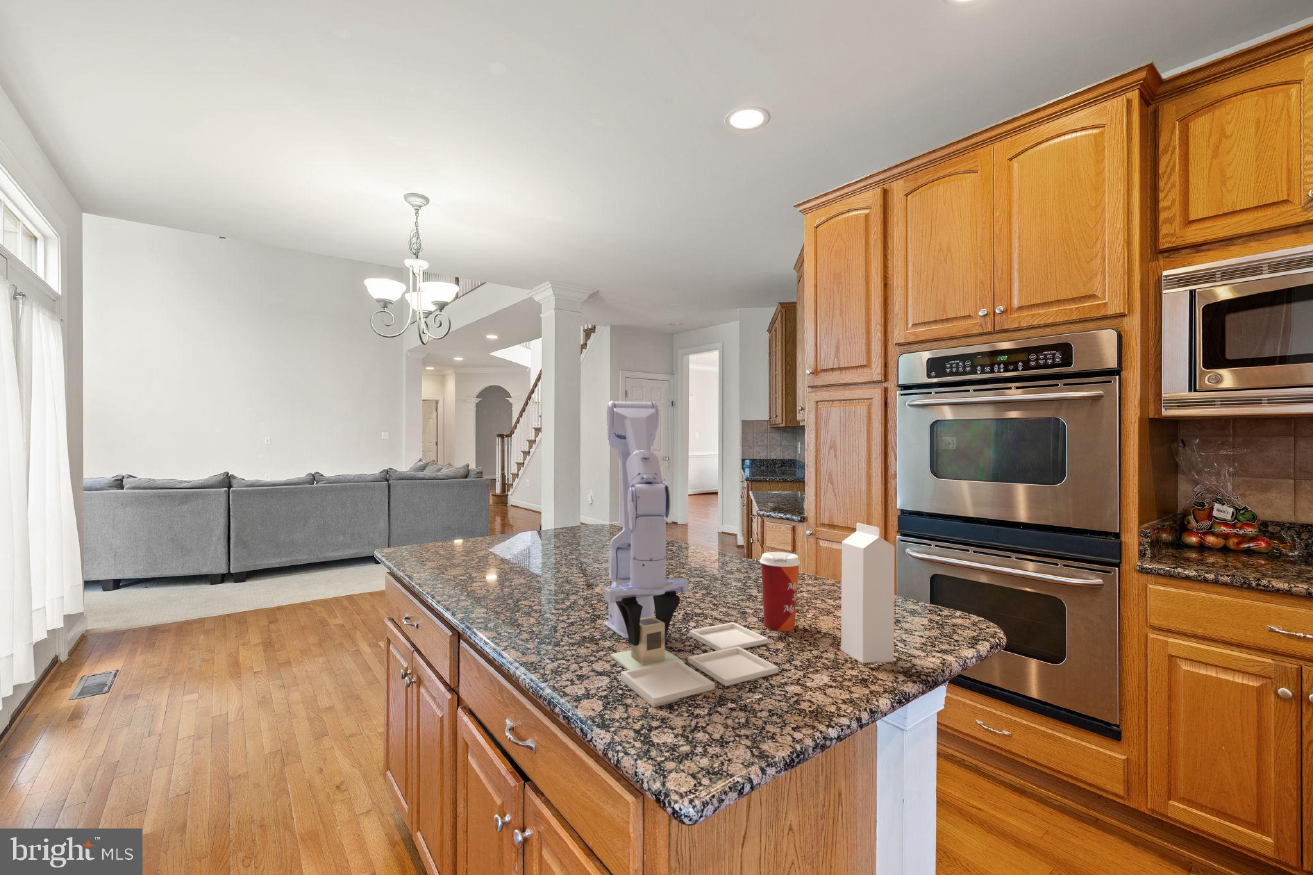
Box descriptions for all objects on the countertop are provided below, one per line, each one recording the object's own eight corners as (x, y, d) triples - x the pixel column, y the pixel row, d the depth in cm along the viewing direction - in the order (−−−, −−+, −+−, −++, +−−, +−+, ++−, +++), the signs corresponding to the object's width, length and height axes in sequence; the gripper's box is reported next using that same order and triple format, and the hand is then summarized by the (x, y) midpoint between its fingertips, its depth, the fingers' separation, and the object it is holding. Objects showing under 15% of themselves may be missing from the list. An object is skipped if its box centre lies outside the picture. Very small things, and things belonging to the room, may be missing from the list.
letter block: (631, 656, 93) (631, 619, 93) (652, 652, 95) (652, 616, 95) (643, 665, 89) (643, 626, 89) (665, 660, 91) (664, 622, 91)
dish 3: (688, 664, 91) (688, 657, 91) (738, 653, 96) (738, 646, 96) (725, 688, 82) (725, 680, 82) (778, 674, 87) (778, 667, 87)
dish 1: (620, 679, 85) (620, 671, 85) (677, 666, 90) (677, 659, 90) (653, 707, 76) (653, 698, 76) (714, 691, 81) (714, 683, 81)
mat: (610, 656, 94) (610, 654, 94) (657, 647, 98) (657, 644, 98) (635, 676, 86) (635, 673, 86) (685, 665, 91) (685, 662, 91)
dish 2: (689, 637, 103) (689, 630, 103) (733, 628, 108) (733, 622, 108) (721, 655, 95) (721, 648, 95) (768, 645, 100) (768, 638, 100)
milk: (862, 666, 91) (863, 528, 91) (840, 652, 97) (840, 523, 97) (894, 661, 93) (895, 526, 93) (870, 648, 99) (871, 521, 99)
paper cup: (801, 636, 104) (801, 560, 104) (758, 633, 106) (759, 558, 106) (799, 623, 112) (799, 552, 112) (759, 620, 114) (760, 550, 114)
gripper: (618, 566, 85) (618, 657, 85) (699, 557, 93) (698, 641, 92) (599, 558, 91) (598, 642, 91) (676, 550, 99) (675, 628, 99)
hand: (647, 640), depth 92 cm, fingers open, 4 cm apart
